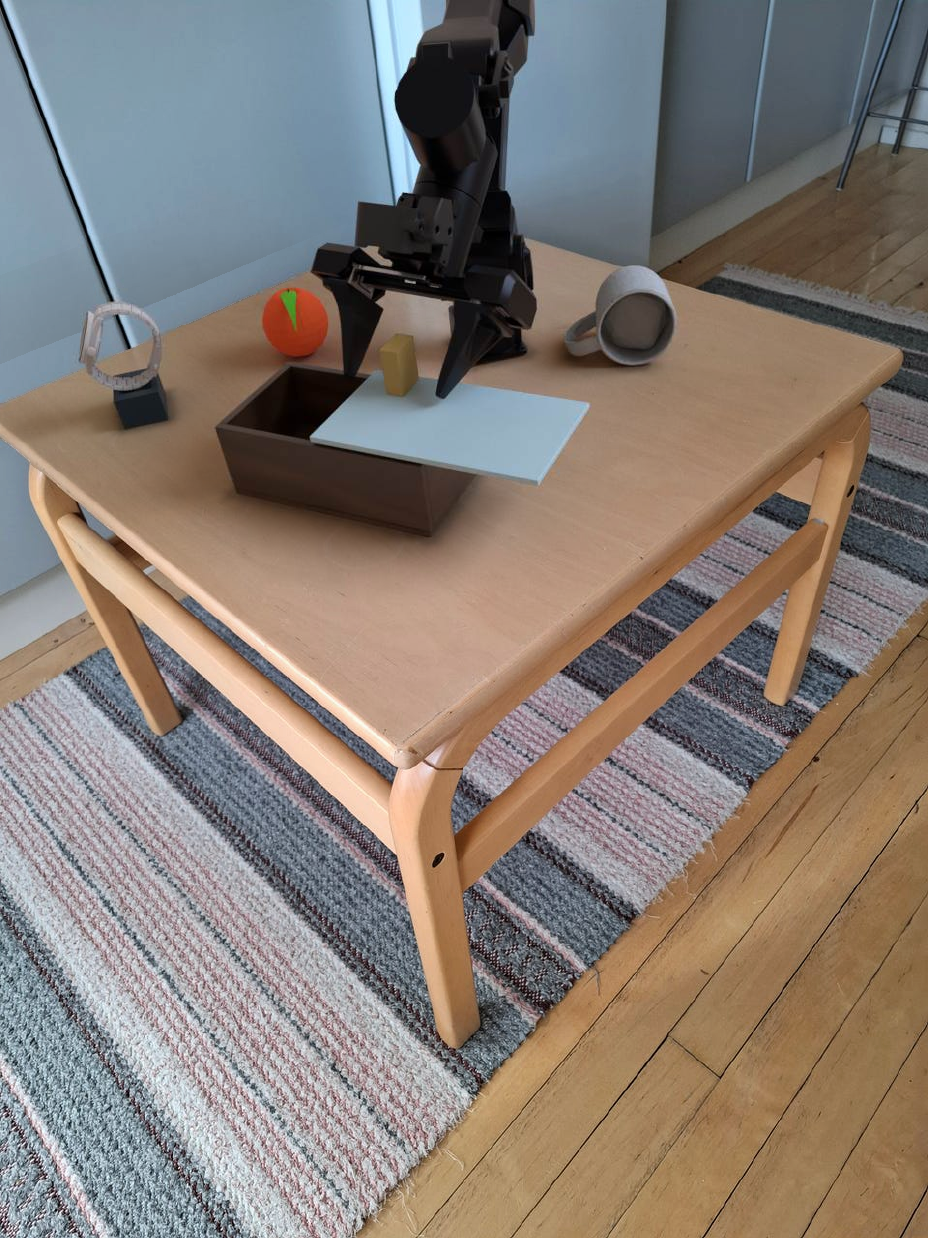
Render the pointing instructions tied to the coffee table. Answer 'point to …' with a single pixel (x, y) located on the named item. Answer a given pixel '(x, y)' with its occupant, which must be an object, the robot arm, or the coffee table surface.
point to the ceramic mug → (627, 318)
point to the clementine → (295, 322)
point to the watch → (132, 391)
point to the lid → (451, 422)
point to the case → (328, 457)
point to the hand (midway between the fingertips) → (392, 387)
